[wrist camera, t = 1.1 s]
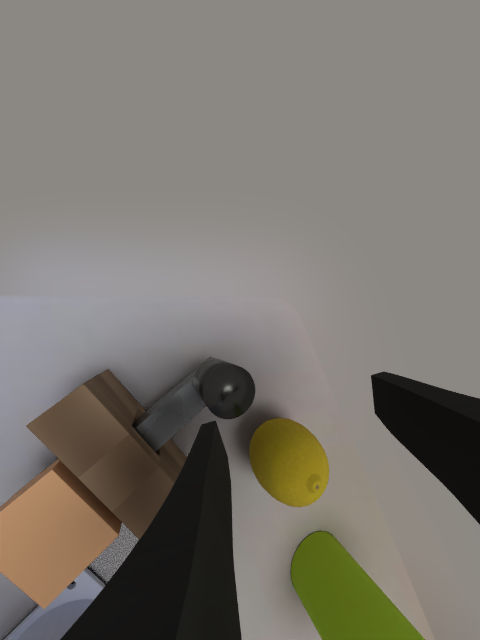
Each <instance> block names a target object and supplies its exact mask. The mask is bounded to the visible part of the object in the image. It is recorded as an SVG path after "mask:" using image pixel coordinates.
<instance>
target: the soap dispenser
mask: <svg viewBox="0 0 480 640" xmlns="http://www.w3.org/2000/svg"><path fill="white" fill-rule="evenodd" d="M291 580H292V584H293V586H294V588H295V590H296V592H297V594H298V596H299V598H300V600H301V601H302V603H303V605H304V607H305V609H306V611H307V612H308V614H309V616H310V618H311V620H312V622H313V624H314V625H315V627H316V629H317V631H318V633H319V635H320V636H321V638H322V640H425V639H424V638H423V637H422V636H421V634H420V633H419V632H418V631H417V630H416V629H415V628H414V627H413V625H412V624H411V623H410V622H409V621H408V620H407V619H406V618H405V616H404V615H403V614H402V613H401V612H400V611H399V610H398V608H397V607H396V606H395V605H394V604H393V603H392V602H391V601H390V599H389V598H388V597H387V596H386V595H385V594H384V593H383V591H382V590H381V589H380V588H379V587H378V586H377V585H376V584H375V582H374V581H373V580H372V579H371V578H370V577H369V576H368V575H367V573H366V572H365V571H364V570H363V569H362V568H361V567H360V565H359V564H358V563H357V562H356V561H355V560H354V559H353V558H352V556H351V555H350V554H349V553H348V552H347V551H346V550H345V548H344V547H343V546H342V545H341V544H340V543H339V542H338V541H337V539H336V538H335V537H334V536H333V535H332V534H330V533H328V532H325V531H318V532H315V533H312V534H311V535H309V536H308V537H306V538H305V539H304V540H303V541H302V543H301V544H300V545H299V547H298V548H297V550H296V552H295V555H294V557H293V560H292V565H291Z"/></svg>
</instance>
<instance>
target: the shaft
mask: <svg viewBox="0 0 480 640" xmlns="http://www.w3.org/2000/svg"><path fill="white" fill-rule="evenodd" d="M254 396H255V385H254V381H253V379H252V377H251V375H250V374H249V373H248V372H247V371H246V370H245V369H243V368H242V367H239V366H236V365H234V364H231V363H228V362H225V361H222V360H219V359H215V358H212V357H210V358H208V359H207V360H206V361H205V362H204V363H202V364H201V365H200V366H199V367H198V368H197V369H195V370H194V371H193V372H192V373H191V374H189V375H188V376H187V377H186V378H185V379H184V380H182V381H181V382H180V383H179V384H178V385H176V386H175V387H174V388H173V389H172V390H170V391H169V392H168V393H167V394H166V395H165V396H163V397H162V398H161V399H160V400H159V401H157V402H156V403H155V404H154V405H153V406H152V407H150V408H149V409H148V410H147V411H146V412H144V413H143V414H142V415H141V416H140V417H139V418H137V419H136V420H135V421H134V422H133V424H132V427H133V428H134V429H135V430H136V432H137V433H138V434H139V435H140V436H141V437H142V438H143V439H144V440H145V441H146V443H147V444H148V445H149V446H150V447H151V448H152V449H153V450H154V451H155V452H156V451H157V450H158V449H159V448H161V447H162V446H163V445H164V444H165V443H166V442H167V441H168V440H169V439H170V438H171V437H172V436H174V435H175V434H176V433H177V432H178V431H179V430H180V429H181V428H182V427H183V426H184V425H185V424H187V423H188V422H189V421H190V420H191V419H192V418H193V417H194V416H195V415H196V414H197V413H199V412H200V411H201V410H202V409H203V408H204V407H205V406H206V405H207V407H208V408H209V410H210V411H211V412H212V413H213V414H214V415H216V416H217V417H220V418H223V419H233V418H236V417H239V416H241V415H242V414H244V413H245V412H246V411H247V410H248V409H249V407H250V406H251V404H252V402H253V399H254Z"/></svg>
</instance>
